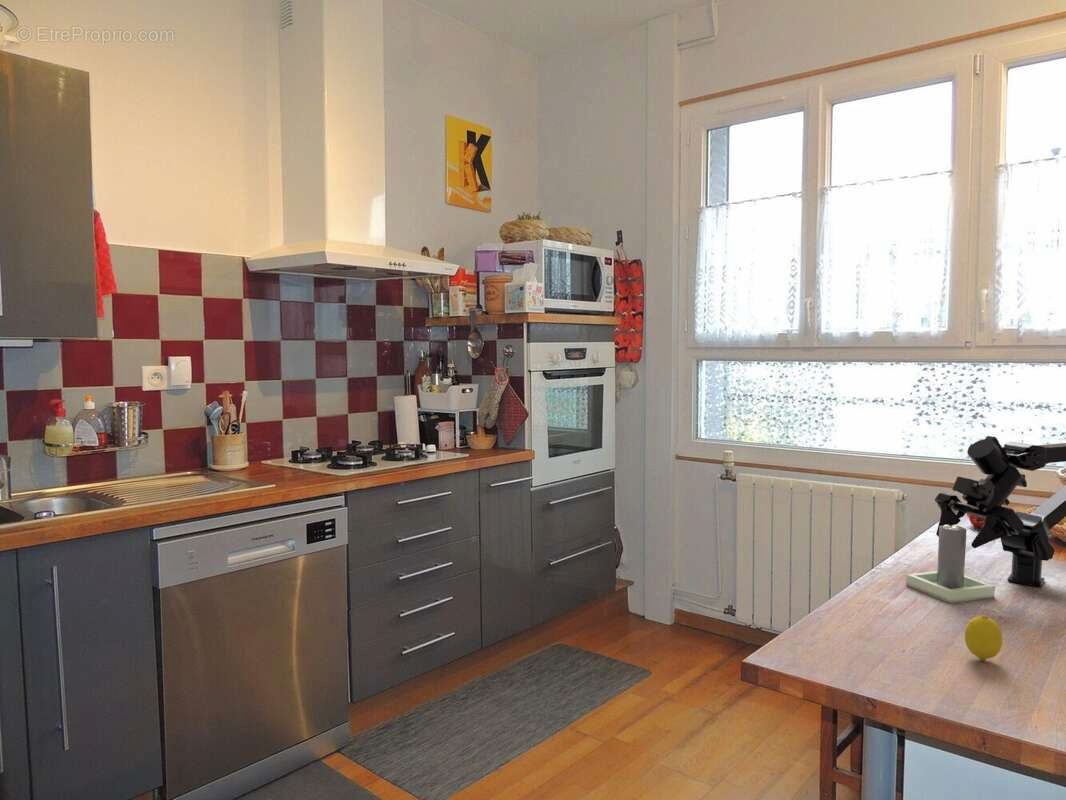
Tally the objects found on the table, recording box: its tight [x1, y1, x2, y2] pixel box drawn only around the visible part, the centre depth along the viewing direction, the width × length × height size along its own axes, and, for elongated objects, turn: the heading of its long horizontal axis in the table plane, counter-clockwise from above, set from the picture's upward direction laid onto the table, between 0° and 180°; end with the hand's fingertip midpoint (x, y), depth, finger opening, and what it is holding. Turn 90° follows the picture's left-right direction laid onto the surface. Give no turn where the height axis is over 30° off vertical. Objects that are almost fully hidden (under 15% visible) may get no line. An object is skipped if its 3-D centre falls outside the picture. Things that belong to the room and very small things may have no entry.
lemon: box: [964, 614, 1003, 662], centre depth 129 cm, size 6×6×8 cm
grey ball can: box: [936, 524, 967, 589], centre depth 164 cm, size 5×5×14 cm
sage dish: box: [905, 570, 996, 604], centre depth 165 cm, size 12×12×2 cm
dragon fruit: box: [966, 513, 986, 530], centre depth 220 cm, size 8×8×12 cm
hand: (954, 541), depth 165 cm, fingers open, 9 cm apart
